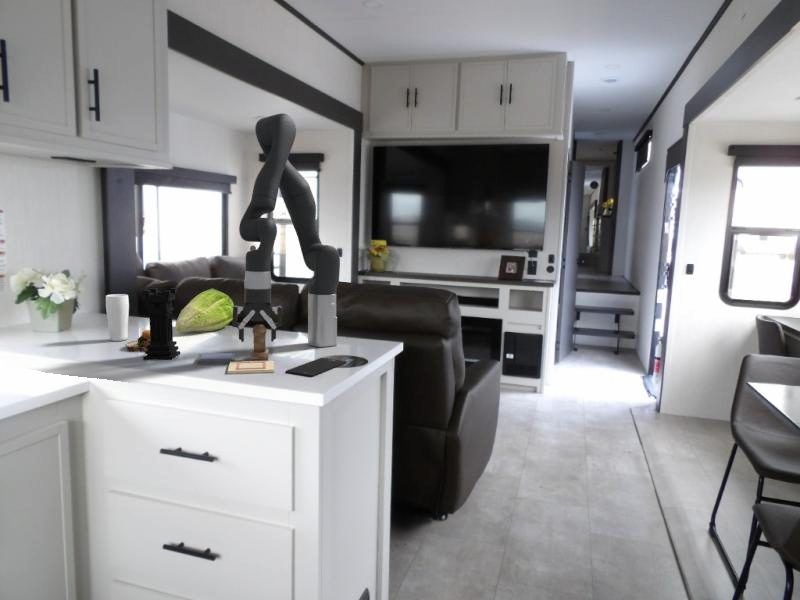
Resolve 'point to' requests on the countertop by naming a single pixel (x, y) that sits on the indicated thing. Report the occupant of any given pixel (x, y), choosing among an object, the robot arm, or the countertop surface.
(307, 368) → the cell phone
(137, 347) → the burger
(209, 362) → the ink pad
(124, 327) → the drinking glass
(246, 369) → the board
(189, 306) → the lettuce
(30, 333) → the countertop surface
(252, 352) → the stamp
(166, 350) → the chess piece
